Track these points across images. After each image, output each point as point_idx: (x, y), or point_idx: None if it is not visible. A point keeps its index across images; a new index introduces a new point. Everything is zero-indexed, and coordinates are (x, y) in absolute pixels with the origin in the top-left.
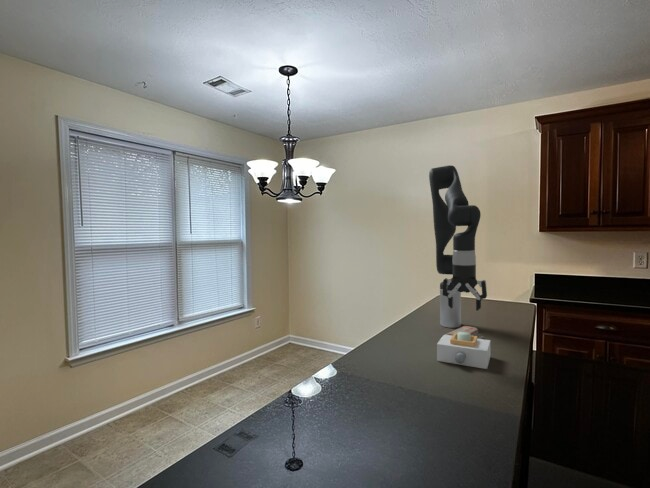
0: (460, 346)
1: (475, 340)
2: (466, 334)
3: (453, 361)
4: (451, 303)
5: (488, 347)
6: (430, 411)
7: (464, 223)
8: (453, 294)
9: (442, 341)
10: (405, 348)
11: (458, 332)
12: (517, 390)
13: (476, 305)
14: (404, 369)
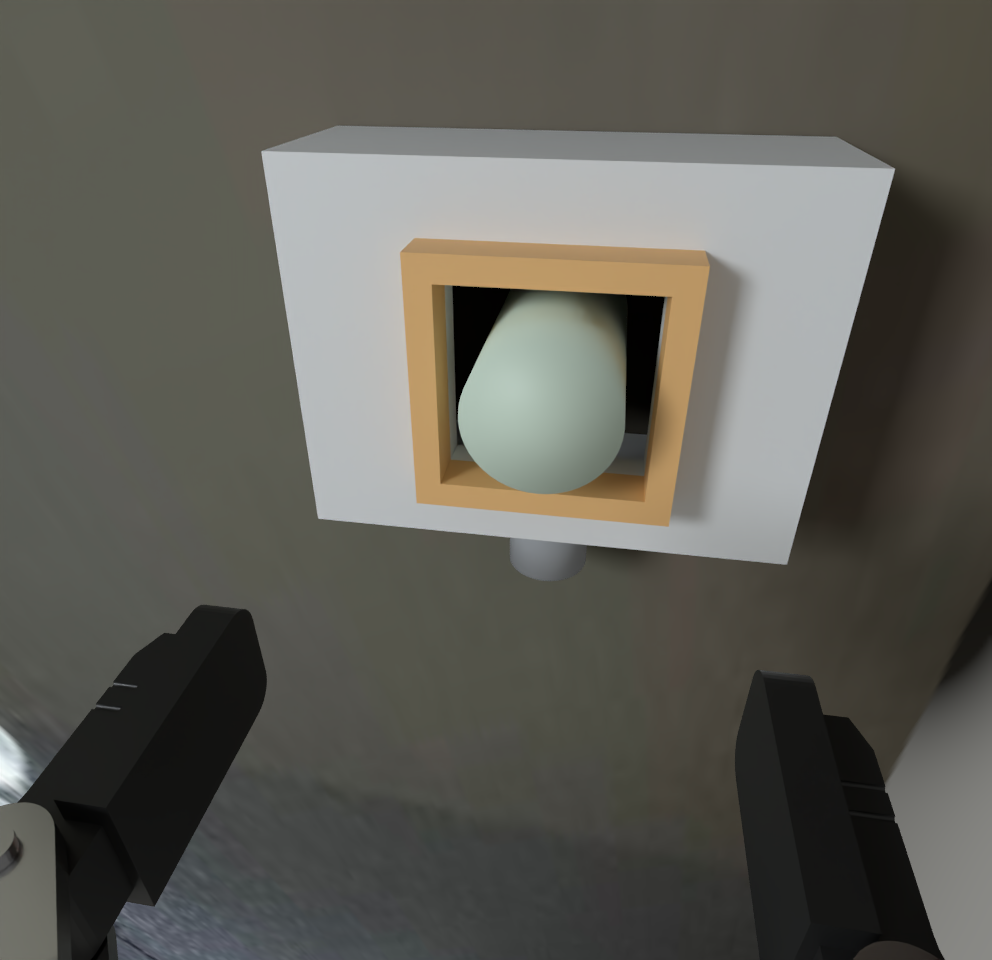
0: (533, 520)
1: (681, 443)
2: (572, 439)
3: None
4: (206, 780)
5: (819, 431)
6: (501, 903)
7: None
8: (57, 889)
9: (338, 433)
10: (23, 244)
11: (465, 392)
12: (907, 710)
13: (755, 868)
14: None
